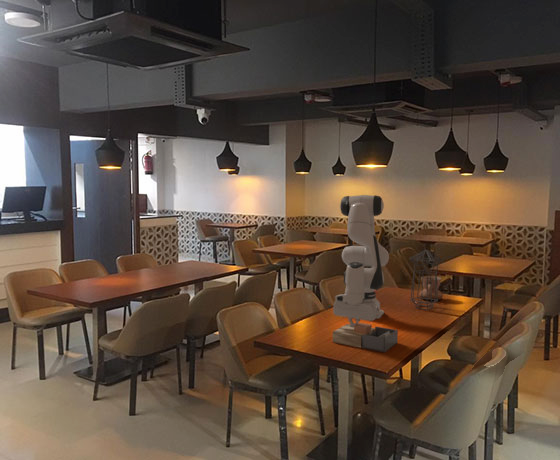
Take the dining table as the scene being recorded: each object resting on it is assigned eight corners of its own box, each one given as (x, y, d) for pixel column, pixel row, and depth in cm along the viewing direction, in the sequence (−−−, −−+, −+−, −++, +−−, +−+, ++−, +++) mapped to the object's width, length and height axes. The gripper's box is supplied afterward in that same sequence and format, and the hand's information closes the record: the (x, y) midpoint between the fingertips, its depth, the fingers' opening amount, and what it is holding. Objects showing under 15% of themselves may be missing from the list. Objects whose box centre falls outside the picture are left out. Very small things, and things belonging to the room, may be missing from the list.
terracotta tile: (359, 328, 229) (359, 322, 228) (371, 331, 225) (371, 324, 225) (354, 332, 224) (354, 325, 223) (366, 334, 220) (366, 327, 220)
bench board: (347, 333, 238) (347, 323, 238) (374, 338, 230) (374, 328, 230) (332, 342, 225) (332, 331, 224) (360, 347, 217) (361, 336, 217)
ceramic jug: (421, 295, 327) (421, 274, 325) (444, 297, 321) (444, 276, 319) (416, 301, 310) (417, 279, 309) (440, 303, 304) (441, 281, 303)
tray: (375, 338, 230) (375, 326, 230) (397, 342, 224) (397, 330, 224) (361, 347, 217) (361, 334, 216) (384, 352, 211) (385, 338, 211)
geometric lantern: (406, 308, 292) (408, 249, 290) (417, 304, 304) (419, 248, 302) (432, 312, 282) (434, 251, 280) (442, 307, 294) (444, 249, 292)
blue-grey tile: (388, 330, 221) (392, 336, 220) (378, 336, 224) (381, 342, 223) (384, 334, 216) (387, 340, 215) (373, 340, 219) (376, 346, 218)
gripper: (378, 299, 223) (377, 329, 224) (338, 294, 234) (337, 322, 235) (373, 302, 217) (372, 332, 219) (331, 296, 229) (331, 325, 230)
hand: (353, 327), depth 227 cm, fingers closed
